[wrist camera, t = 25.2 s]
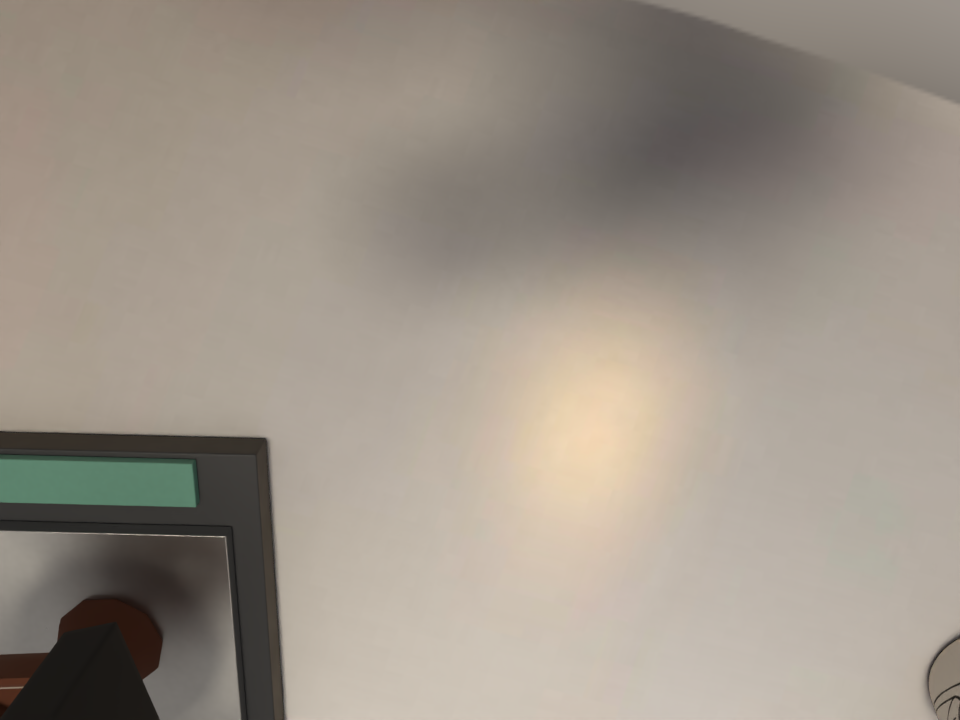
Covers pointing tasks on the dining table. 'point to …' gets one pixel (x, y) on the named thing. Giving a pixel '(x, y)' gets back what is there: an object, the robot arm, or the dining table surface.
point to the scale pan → (134, 601)
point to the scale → (163, 514)
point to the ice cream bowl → (12, 671)
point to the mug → (946, 683)
